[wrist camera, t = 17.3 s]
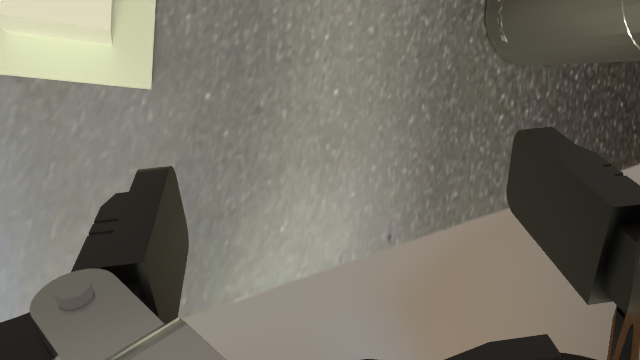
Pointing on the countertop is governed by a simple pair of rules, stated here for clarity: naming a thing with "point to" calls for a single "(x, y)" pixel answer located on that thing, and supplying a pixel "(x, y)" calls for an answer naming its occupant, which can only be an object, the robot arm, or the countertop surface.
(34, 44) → the mat
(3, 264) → the countertop surface
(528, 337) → the robot arm
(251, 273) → the countertop surface
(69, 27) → the cover
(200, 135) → the countertop surface
